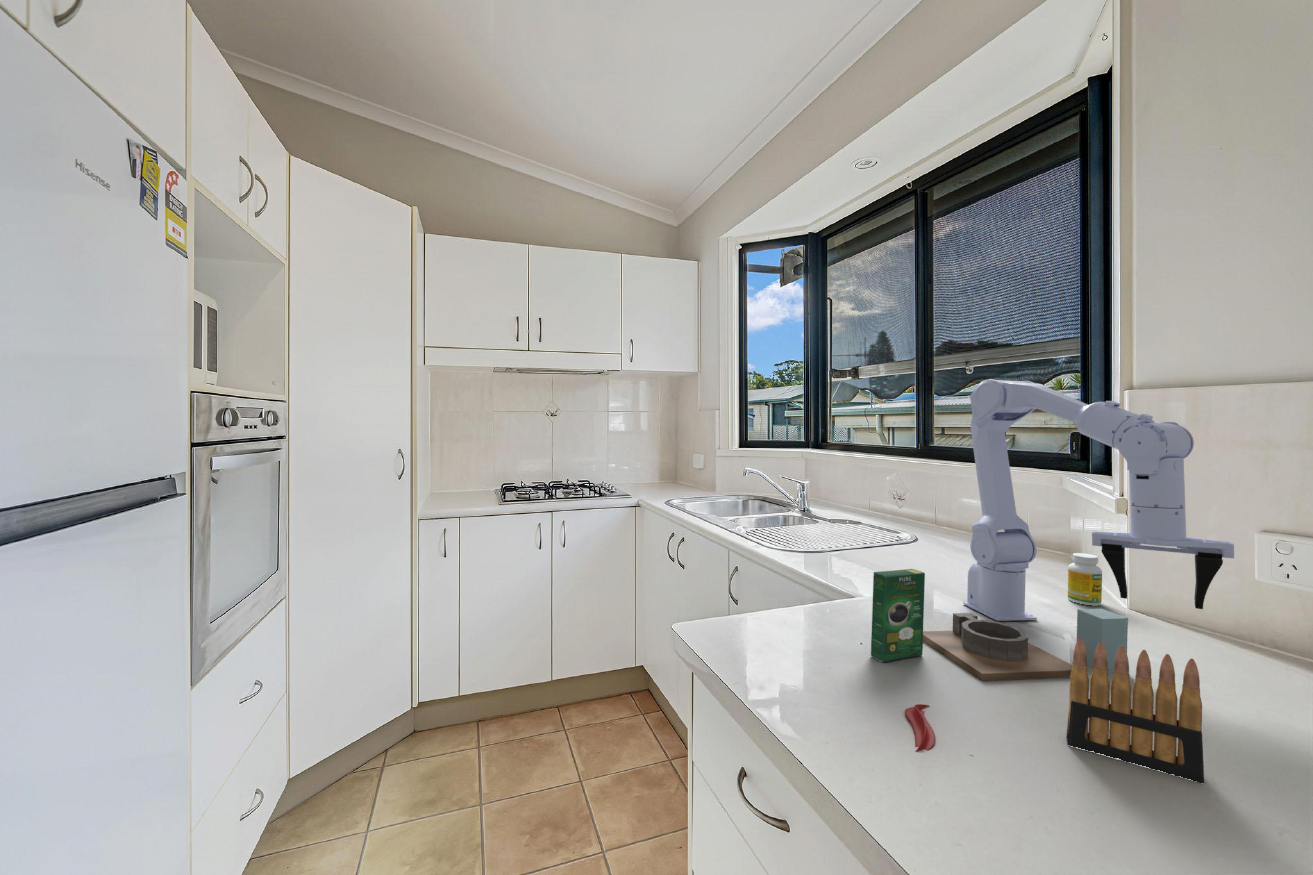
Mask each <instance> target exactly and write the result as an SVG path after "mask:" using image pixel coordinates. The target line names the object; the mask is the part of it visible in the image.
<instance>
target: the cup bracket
mask: <svg viewBox="0 0 1313 875" xmlns="http://www.w3.org/2000/svg"><path fill="white" fill-rule="evenodd" d="M923 643H926V644H928V645H929V646H930V647H932V648H933V649H934V650H936V651H938V652H939V653H941V654H942V655H944V656H945V657H946V658H948V659H949V660H951V661H953V663H955V664H957V665H958V666H960V667H961V668H963V669H964V670H966V671H967V672H968V673H970V674H972V675H973V676H974V677H976V678H977V679H979V680H981V681H983V682H987V681H989V682H990V681H991V682H992V681H1011V680H1033V679H1034V680H1037V679H1038V680H1039V679H1055V678H1056V679H1059V678H1060V679H1061V678H1070V674H1071V671H1072V664H1071V663H1070V662H1067V661H1066V660H1063V659H1062V658H1060V657H1058V656H1056V655H1054V654H1052V653H1050V652H1048V651H1046V650H1044V649H1043V648H1041V647H1038V646H1036V645H1035V644H1032V643H1030V641H1029V636H1028V634H1027V633H1026V631H1024V630H1022V629H1020V628H1018V627H1016V626H1014V625H1010V624H1006V623H1003V622H1001V621H996V620H995V621H993V620H987V619H978V615H977V614H974V613H972V612H956V613H954V612H952V630H933V631H932V630H929V631H924V630H923Z"/></svg>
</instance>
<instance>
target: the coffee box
mask: <svg viewBox="0 0 1313 875" xmlns="http://www.w3.org/2000/svg"><path fill="white" fill-rule="evenodd" d="M872 578H873V579H872V580H873V581H872V582H873V583H872V584H873V585H872V608H871V609H872V610H871V616H872V617H871V637H870V638H871V641H870V657H872V658H873V659H874V660H875V659H876V661H878V662H881V663H886V662H894V661H897V660H902V659H903V660H904V659H909V658H916V657H919V656H923V649H924V641H923V631H924V616H925V614H924V613H925V611H924V610H925V580H926V573H925V572H923V571H921V570H917V569H914V568H908V569H896V570H886V571H884V570H883V571H874V572H873V576H872Z"/></svg>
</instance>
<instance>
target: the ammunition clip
mask: <svg viewBox="0 0 1313 875" xmlns="http://www.w3.org/2000/svg"><path fill="white" fill-rule="evenodd" d="M1072 655H1073V656H1072V671H1071V674H1070V677H1069V697H1068V698H1069V702H1068V717H1067V727H1066V729H1067V730H1066V744H1067V746H1069V745H1070V746H1073V747H1078V748H1081V749H1085V750H1088V751H1094V752H1095V753H1100V754H1104V755H1106V756H1110V757H1113V758H1119V759H1121V760H1123V761H1126V762H1131V763H1135V764H1138V765H1142V766H1146V767H1149V768H1151V769H1155V770H1160V771H1163V772H1166V773H1168V774H1167V775H1169V774H1174V775H1175V776H1174V777H1176V776H1181V777H1183V778H1187V779H1191V780H1193V781H1192V782H1194V781H1197V782H1196V783H1198V782H1199V784H1201V783H1203V784H1205V768H1204V766H1205V765H1204V747H1203V746H1204V742H1203V730H1202V729H1203V701H1202V698H1201V688H1200V686H1201V685H1200V684H1201V683H1200V682H1201V680H1200V673H1199V668H1198V665H1197V663H1196V661H1195V659H1194V658H1190V659H1188V661H1187V663H1186V665H1185V667H1184V671H1183V677H1182V678H1183V679H1182V680H1183V681H1182V684H1181V686H1182V687H1181V694H1180V695H1179V696H1180V697H1179V706H1178V694H1177V689H1176V688H1177V687H1176V672H1175V671H1176V670H1175V666H1174V662H1173V659H1172V657H1171V655H1170V654H1169V653H1166V654H1165V655H1164V656H1163V658H1162V660H1161V663H1160V667H1159V673H1158V674H1159V677H1158V684H1157V688H1156V691H1155V694H1154V689H1153V682H1152V681H1153V679H1152V665H1151V660H1150V657H1149V654H1148V651H1147V650H1146V649H1142V650H1141V651H1140V654H1139V655H1138V658H1137V661H1136V668H1135V678H1134V683H1133V687H1132V685H1131V681H1130V663H1129V657H1128V652H1127V653H1126V650H1125V648H1124V646H1120V648H1119V649H1118V651H1117V654H1116V658H1115V664H1114V674H1112V675H1113V676H1112V681H1111V683H1110V678H1109V674H1108V662H1107V654H1106V650H1105V647H1104V645H1103V643H1102V642H1099V643H1098V645H1097V647H1096V650H1095V654H1094V660H1093V670H1091V671H1092V672H1091V675H1090V679H1089V674H1088V668H1087V655H1086V649H1085V645H1084V642H1083V640H1082V639H1081V638H1079V639H1078V640H1077V639H1076V643H1075V645H1074V649H1073V653H1072ZM1154 695H1155V700H1154ZM1154 701H1155V704H1154ZM1154 705H1155V708H1154ZM1178 707H1179V708H1178ZM1178 711H1179V712H1178ZM1070 746H1069V747H1070ZM1123 761H1122V762H1123ZM1126 762H1125V763H1126ZM1151 769H1150V770H1151ZM1155 770H1154V771H1155ZM1166 773H1165V774H1166ZM1183 778H1182V779H1183ZM1187 779H1186V780H1187ZM1191 780H1190V781H1191ZM1203 784H1202V785H1203Z"/></svg>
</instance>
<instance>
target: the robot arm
mask: <svg viewBox="0 0 1313 875" xmlns="http://www.w3.org/2000/svg"><path fill="white" fill-rule="evenodd" d="M969 398H970V406H971V414H972V416H971V420H970V421H971V422H970V434H971V442H972V448H973V456H974V464H975V471H976V478H977V486H978V491H979V499H980V507H981V514H982V515H981V517H980V518H979V519H978V520H976V521H975V522H974V524H973V525H972V526H971V531H972V532H971V533H972V536H971V540H970V552H971V556H972V557H973V558H974V560H975V562H974V563H972V564H971V566H970V567H969V569H968V572H967V599H966V601H963V602H962V604H963V605H964V606H966V607H969V608H970V609H972V610H975V611H976V612H979V613H981V614H983V615H985V616H987V617H989V618H991V619H993V620H995V621H996V622H1006V621H1007V622H1010V621H1012V622H1013V621H1037V620H1038V617H1037V616H1035V615H1033V614H1031V613H1028V612H1026V611H1025V610H1026V574H1027V573H1026V571H1027V569H1029V563H1032V562H1033V561H1034V559H1035V558H1036V556H1037V552H1038V551H1037V550H1038V549H1037V543H1036V541H1035V539H1034V538H1033V536H1032V535H1031V533H1030V528H1029V524H1028V523H1027V522H1026V521H1025V520H1024V519H1022V518H1021V517H1020V516H1019V515H1018V514H1017V507H1016V502H1015V494H1014V493H1015V492H1014V487H1013V482H1012V475H1011V468H1010V459H1009V453H1008V447H1007V441H1006V440H1007V439H1006V432H1007V431H1008V430H1009V429H1010V428H1011V427H1012V426H1013V425H1015V423H1017V422H1019V421H1021V420H1022V419H1023V418H1025V417H1026V416H1028V415H1029V414H1031V413H1033V412H1034V411H1035V410H1039V411H1042V412H1045V413H1047V414H1050V415H1053V416H1056V417H1059V418H1062V419H1065V420H1066V421H1069V422H1070V421H1071V422H1072V423H1075V424H1076V429H1077V431H1078V432H1079V434H1081V435H1083V436H1086V437H1087V438H1088V437H1089V438H1090V439H1093V440H1095V441H1097V442H1099V443H1102V444H1104V445H1106V446H1109V447H1111V448H1113V449H1116V450H1118V451H1119V454H1120V455H1121V456H1122V457H1123V459H1125V461H1126V466H1127V468H1126V470H1127V471H1128V472H1129V503H1130V504H1129V505H1130V511H1129V512H1130V533H1129V532H1128V533H1127V532H1109V531H1108V532H1106V531H1092V532H1091V542H1092V543H1091V544H1092V546H1093V547H1095V546H1096V547H1101V553H1102V556H1103V557H1104V558H1105V560H1106V562H1107V564H1108V566H1109V567H1110V569H1111V571H1112V573H1113V576H1114V578H1115V581H1116V584H1117V587H1118V590H1119V596H1120V598H1121V599H1128V584H1127V578H1126V551H1125V549H1136V550H1145V551H1147V550H1148V551H1156V552H1166V553H1167V552H1168V553H1179V554H1180V553H1181V554H1188V555H1189V554H1190V555H1191V554H1192V555H1194V569H1195V570H1194V571H1195V586H1194V588H1195V589H1194V596H1193V597H1194V607H1195V609H1196V610H1197V609H1199V610H1204V601H1205V599H1206V595H1207V591H1208V590H1209V587H1210V585H1211V583H1212V581H1213V579H1214V578H1215V576H1216V575H1217V573H1218V572H1219V570H1220V569H1221V568H1222V565H1223V563H1224V561H1223V558H1226V559H1235V545H1234V543H1233V542H1232V541H1222V540H1221V541H1220V540H1212V539H1201V538H1193V537H1187V526H1186V525H1187V523H1186V521H1187V520H1186V488H1185V459H1186V458H1188V457H1189V456H1190V455H1191V453H1192V452H1193V449H1194V446H1195V445H1194V444H1195V441H1194V437H1193V435H1192V433H1191V432H1190V431H1189V430H1188V429H1187V428H1186V427H1185V426H1182V425H1180V424H1179V423H1177V422H1174V421H1163V422H1157V423H1156V422H1155V421H1154V420H1153V418H1154V417H1153V416H1152V415H1149V413H1148V414H1147V413H1140V414H1138V413H1135V412H1132V411H1130V410H1126V409H1124V408H1122V407H1120V406H1121V403H1119V402H1117V401H1114V400H1106V401H1097V402H1093V403H1091V404H1088V403H1085V402H1084V401H1081V400H1078V399H1075V398H1073V397H1071V396H1068V395H1067V394H1064V393H1062V392H1060V391H1057V390H1055V389H1053V388H1050V387H1047V386H1046V385H1044V384H1041V383H1037V382H1033V381H1030V380H1021V381H1020V380H997V379H992V378H989V379H985V380H982V381H981V382H980V383H979V384H978V385H977V386H976V387H975V389H974V390H973V391H972V393H971V394H970V396H969ZM1001 530H1003V531H1001Z"/></svg>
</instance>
